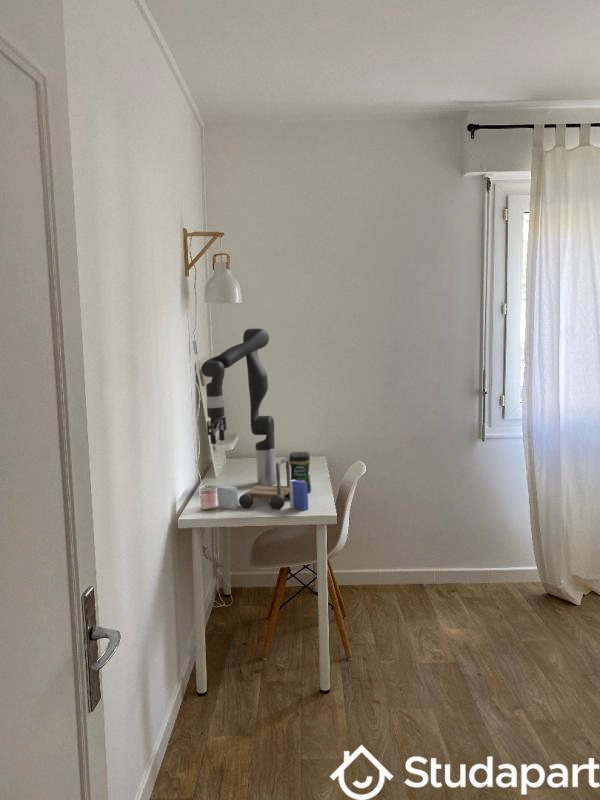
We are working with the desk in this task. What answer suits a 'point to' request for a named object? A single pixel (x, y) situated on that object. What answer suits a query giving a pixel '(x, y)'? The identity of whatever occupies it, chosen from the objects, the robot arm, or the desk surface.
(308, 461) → the coffee jar
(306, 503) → the walkman
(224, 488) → the medicine box
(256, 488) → the trolley
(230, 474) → the desk surface
